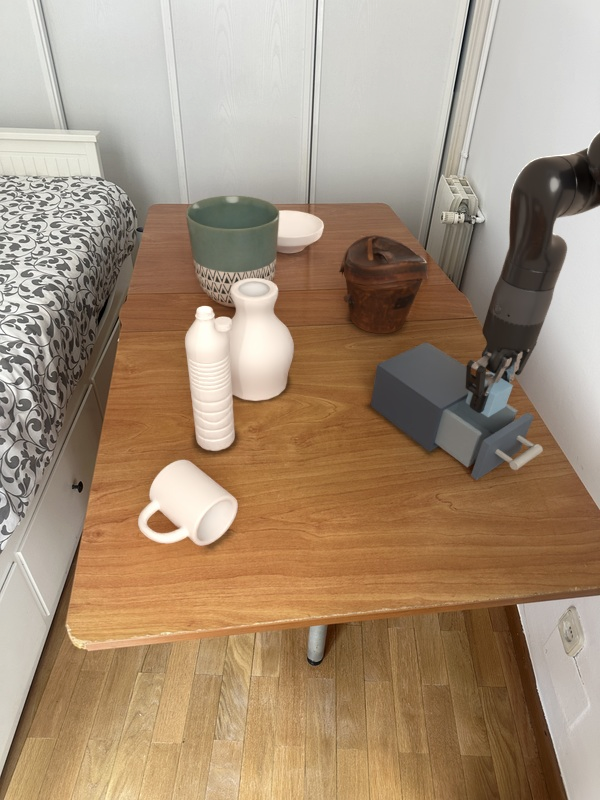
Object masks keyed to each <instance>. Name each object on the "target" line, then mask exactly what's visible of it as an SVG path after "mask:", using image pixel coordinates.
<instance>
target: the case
mask: <svg viewBox="0 0 600 800" xmlns="http://www.w3.org/2000/svg"><path fill="white" fill-rule="evenodd" d="M340 263H341V264H340V269H339V271H338V273H341V276H344V278H345V283H346V284H345V285H346V293H347V294H346V295H345V296H344V297H343V300H344V301H345V303H347V304H348V315H349V317H350V320H351V322H352V323H353V325H355V326H356V327H358V328H359V329H361V330H363V331H365V332H369V333H374V334H390V333H391V334H392V333H394V332H397V331H398V330H400V329H401V328H402V327H404V324H405V322H406V320H407V318H408V315H409V313H410V310H411V309H412V306H413V304H414V302H415V300H416V297H417V294H418V292H419V290H420V287H421V285H422V283H423V280H429V277H428V262H427V260H426V259H425V258H424V257H422V256H421V255H420V254H418V253H416V252H415V251H414V250H413V249H412V248H411V247H409V246H408V245H406V244H404V243H403V242H401V241H399V240H396V239H393V238H391V237H388V236H383V235H378V234H377V235H376V234H374V235H365V236H363V237H361V238H359V239H356V240H355V241H354V242H353V243H352V244H351V245H350V246H348V247H347V249H346V251H345V252H344V254H343V256H342V261H341V262H340Z"/></svg>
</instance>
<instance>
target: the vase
mask: <svg viewBox="0 0 600 800" xmlns="http://www.w3.org/2000/svg"><path fill="white" fill-rule="evenodd" d="M231 296H232V299H233V302H234V304H235V307H234V308H235V314H234V315H233V317H232V318H230V319H231V320H232V329H230V330H229V331H227V333H228V336H229V342H230V365H231V381H232V396H235V397H237V398H239V399H242V400H245V401H246V400H247V401H252V402H253V401H254V402H258V401H266V400H270V399H272V398H275V397H277V396H279V395H280V394H281V393H282V392H283V391H284V390H285V389H286V387H287V384H288V377H289V376H288V375H289V372H290V368H291V365H292V362H293V358H294V354H295V344H294V339H293V336H292V334H291V332H290V330H289V328H288V327H287V325H285V324H284V322H283V321H281V320H280V319H279V318H278V316H277V315H276V314H275V304H276V302H277V299H278V296H279V288H278V285H277V284H276V283H274V281H273V282H272V281H269V280H266V279H261V278H247V279H243V280H239V281H237V282H236V283H234V284H233V285H232V287H231ZM230 328H231V327H230ZM225 330H226V329H225Z"/></svg>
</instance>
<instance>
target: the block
mask: <svg viewBox="0 0 600 800" xmlns="http://www.w3.org/2000/svg"><path fill="white" fill-rule="evenodd" d="M487 372H488V373H490V374H492V375H493V376H495V374H494V373H492V372H490V371H487ZM487 383H488V381H487V380H486V379H485V386H486V385H487ZM513 387H514V384H512V383H511V382H509V383H508V382H507V381H505V380H503V379H502V378H501V379H500V380H499V382H498V383H494V385H493V387H492V389H491V391H490V393H489V396H488V399H487V402H486V405H485V408H484V411H483V412H481V413H482V414H484V415H485V416H487V417H490V416H491V415H493V414H495V413H496V412H498V411H500V410H501V409H503V408H505V406H506V404H508V400H509V397H510V395H511V392H512V390H513ZM472 395H473V393H472V392H470V391H469V393H468V397H467V400H466V403H467V404H469V405H470V402H471V399H472Z"/></svg>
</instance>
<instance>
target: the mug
mask: <svg viewBox="0 0 600 800" xmlns="http://www.w3.org/2000/svg"><path fill="white" fill-rule="evenodd" d="M148 494H149V500H150V502H149V503H148V504H147V505H146V506H145V507H144V508H143V509H142V510H141V512H140V514H139V516H138V519H137V526H138V528H139V530H140V532H141V534H143V535H144V536H145V537H146V538H148V539H149V540H150V541H153V542H156V543H158V544H167V545H168V544H174V543H177V542H180V541H183V540H184V539H187V538H189V540H191V541H192V542H193V544H195V545H197V546H200V547H201V546H202V547H204V546H208V545H210V544H213V543H215V542H216V541H217V540H219V539H220V538H222V536H224V535H225V533H226V532H227V531H228V530H229V528H230V527H231V526H232V524H233V522H234V521H235V519H236V516H237V513H238V508H239V504H238V503H239V502H238V500H237V498H236V497H235V496H234V495H232V493H230V492H229V491H228V490H226V489H225V488H224V487H223V486H222V485H220V484H219V483H218V482H217V481H215V480H214V479H212V478H211V477H210V476H209V475H208V474H207V473H205V471H203V470H202V469H201V468H199V467H198V466H197V465H195V464H194V463H193V462H191V461H190V460H188V459H178V460H175V461H173V462H171V463H169V464H167V465H166V466H164V467H163V468H162V469H161V470H160V471H159V472H158V474H157V475H156V476H155V478H154V479H153V481H152V483H151V485H150V488H149V493H148ZM158 511H159V512H160V513H161V514H162V515H163V516H165V517H166V518H167V519H168V520H169V521H170V522H171V523H172V524H173V525H174V526H175V527H176V528H177V529H175V530H173V531H169V532H165V533H163V532H157V531H155V530H154V529H151V528H150V527H149V525H148V520H149V519H150V518H151V517H152V516H153V515H154V514H155V513H156V512H158Z"/></svg>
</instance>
